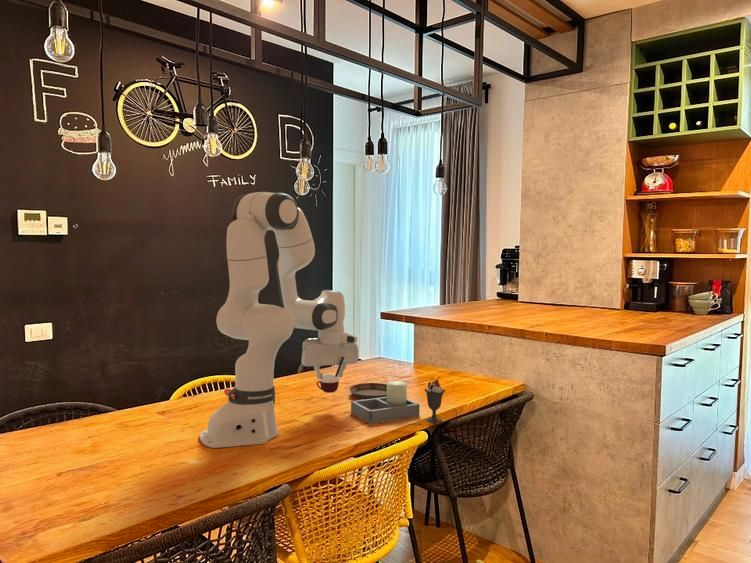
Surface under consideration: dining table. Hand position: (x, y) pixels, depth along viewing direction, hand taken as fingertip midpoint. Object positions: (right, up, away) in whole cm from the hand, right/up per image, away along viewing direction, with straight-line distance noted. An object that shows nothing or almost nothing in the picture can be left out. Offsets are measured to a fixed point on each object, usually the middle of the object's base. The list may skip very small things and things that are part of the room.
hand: (329, 377), depth 192 cm
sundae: (+35, -13, -9) cm, 38 cm away
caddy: (+19, -12, -3) cm, 22 cm away
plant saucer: (+15, -11, +21) cm, 28 cm away
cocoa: (0, -5, 0) cm, 5 cm away
